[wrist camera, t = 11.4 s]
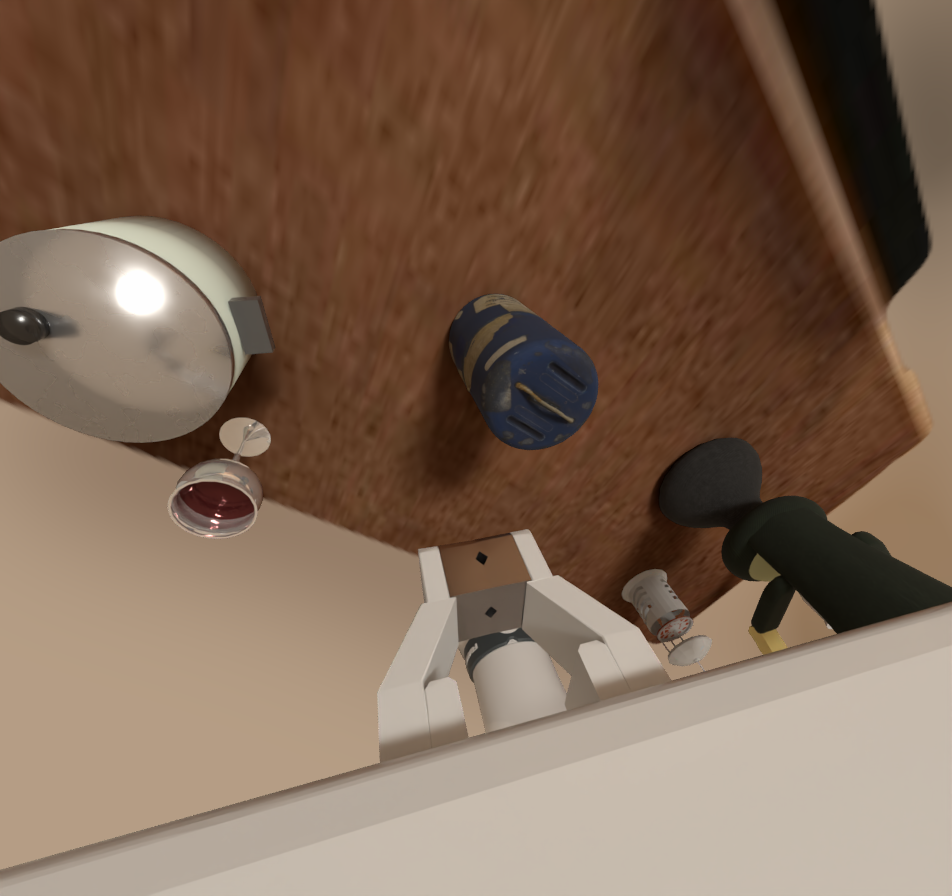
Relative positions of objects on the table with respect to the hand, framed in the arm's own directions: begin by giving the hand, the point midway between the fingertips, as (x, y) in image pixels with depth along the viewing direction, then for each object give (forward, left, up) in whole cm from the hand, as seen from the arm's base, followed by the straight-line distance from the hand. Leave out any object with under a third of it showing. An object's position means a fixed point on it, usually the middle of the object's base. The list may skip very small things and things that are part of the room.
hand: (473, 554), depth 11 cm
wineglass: (-15, +17, -35) cm, 42 cm away
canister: (-6, -10, -35) cm, 37 cm away
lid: (-1, +19, -25) cm, 31 cm away
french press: (-60, -43, -35) cm, 82 cm away
